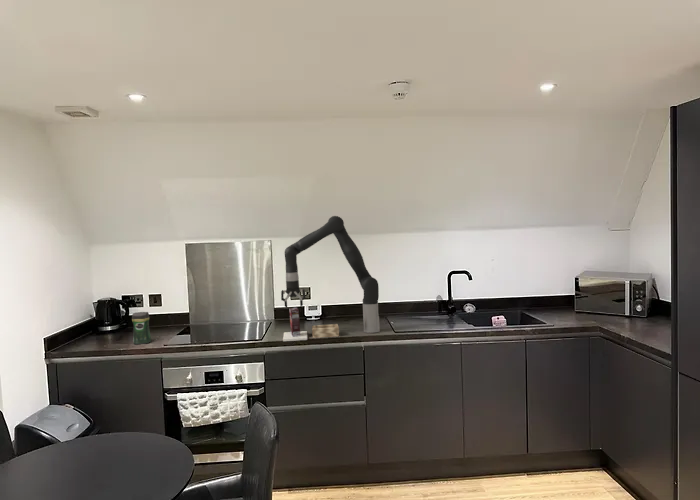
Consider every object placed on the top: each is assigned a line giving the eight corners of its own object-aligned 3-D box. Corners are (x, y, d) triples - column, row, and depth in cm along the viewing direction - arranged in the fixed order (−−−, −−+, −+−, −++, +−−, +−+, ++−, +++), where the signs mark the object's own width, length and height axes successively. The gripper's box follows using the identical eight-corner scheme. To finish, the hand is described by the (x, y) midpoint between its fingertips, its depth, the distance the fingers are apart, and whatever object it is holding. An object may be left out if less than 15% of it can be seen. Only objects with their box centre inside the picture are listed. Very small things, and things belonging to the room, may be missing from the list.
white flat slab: (306, 332, 325) (306, 331, 325) (307, 339, 305) (307, 338, 305) (284, 334, 324) (283, 332, 324) (282, 341, 304) (282, 339, 304)
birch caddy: (337, 332, 323) (337, 324, 322) (339, 336, 311) (338, 327, 311) (312, 333, 321) (312, 325, 321) (312, 337, 310) (312, 329, 310)
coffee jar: (152, 341, 320) (150, 310, 319) (149, 343, 312) (147, 312, 311) (135, 342, 319) (133, 311, 318) (132, 345, 311) (130, 313, 310)
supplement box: (290, 334, 318) (289, 307, 317) (298, 333, 319) (297, 307, 318) (292, 337, 310) (291, 310, 309) (300, 336, 311) (299, 309, 310)
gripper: (279, 281, 308) (281, 308, 309) (304, 279, 310) (305, 307, 311) (280, 279, 316) (282, 306, 317) (304, 278, 317) (305, 305, 318)
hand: (293, 307), depth 314 cm, fingers open, 8 cm apart
